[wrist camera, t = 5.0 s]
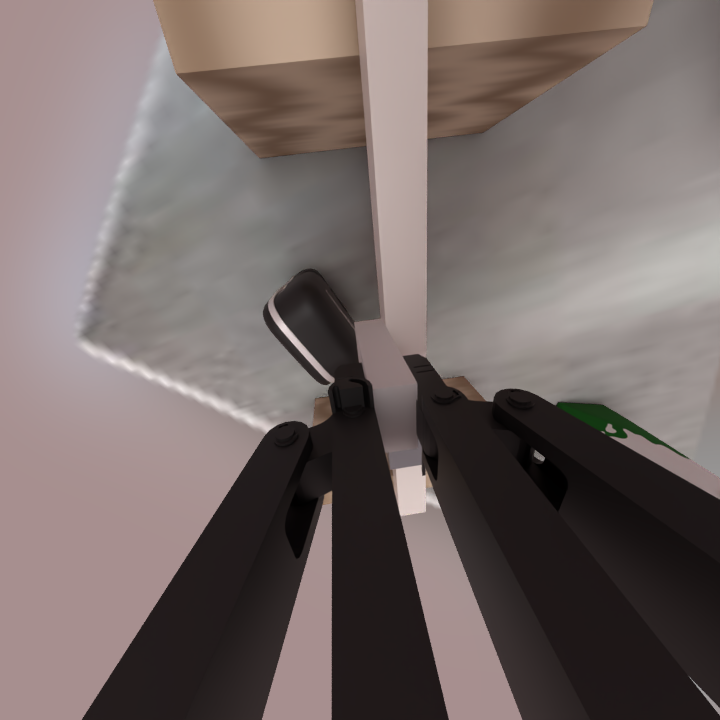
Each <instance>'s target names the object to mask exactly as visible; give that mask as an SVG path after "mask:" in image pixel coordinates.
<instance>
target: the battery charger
mask: <svg viewBox="0 0 720 720" xmlns="http://www.w3.org/2000/svg"><path fill="white" fill-rule="evenodd" d="M263 317H264V320H265V322H266V325H267V326H268V328H269V329H270V331H271V332H272V333H273V334H274V336H275V337H276V338H277V339H278V340H279V341H280V342H281V344H282V345H283V346H284V347H285V348H286V349H287V350H288V351H289V352H290V354H291V355H292V356H293V357H294V358H295V359H296V360H297V361H298V362H299V363H300V364H301V365H302V367H303V368H304V369H305V370H306V371H307V372H308V373H309V374H310V375H311V376H312V377H313V378H314V379H315V380H316V381H317V382H319V383H320V384H323V385H328V384H330V383H334V380H335V379H334V372H335V370H336V369H337V368H338V366H339V365H347V364H354V363H359V359H358V351H357V342H356V334H355V326H354V321H353V320H352V318H351V317H350V316H349V314H348V313H347V311H346V309H345V308H344V306H343V305H342V303H341V302H340V301H339V299H338V298H337V296H336V295H335V294H334V292H333V291H332V290H331V288H330V287H329V285H328V284H327V283H326V281H325V280H324V279H323V277H322V276H321V275H320V274H319V272H318V271H316V270H314V269H306V270H304V271H302V272H299V273H298V274H297V275H296V276H293V277H291V278H290V280H289V281H288V282H287V283H286V284H285V285H283V286H282V287H281V288H280V289H278V290H277V291H276V292H275V293H274V294H273V296H272V297H271V299H270V300H269V301H268V302H267V304H266V305H265V307H264V310H263Z"/></svg>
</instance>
